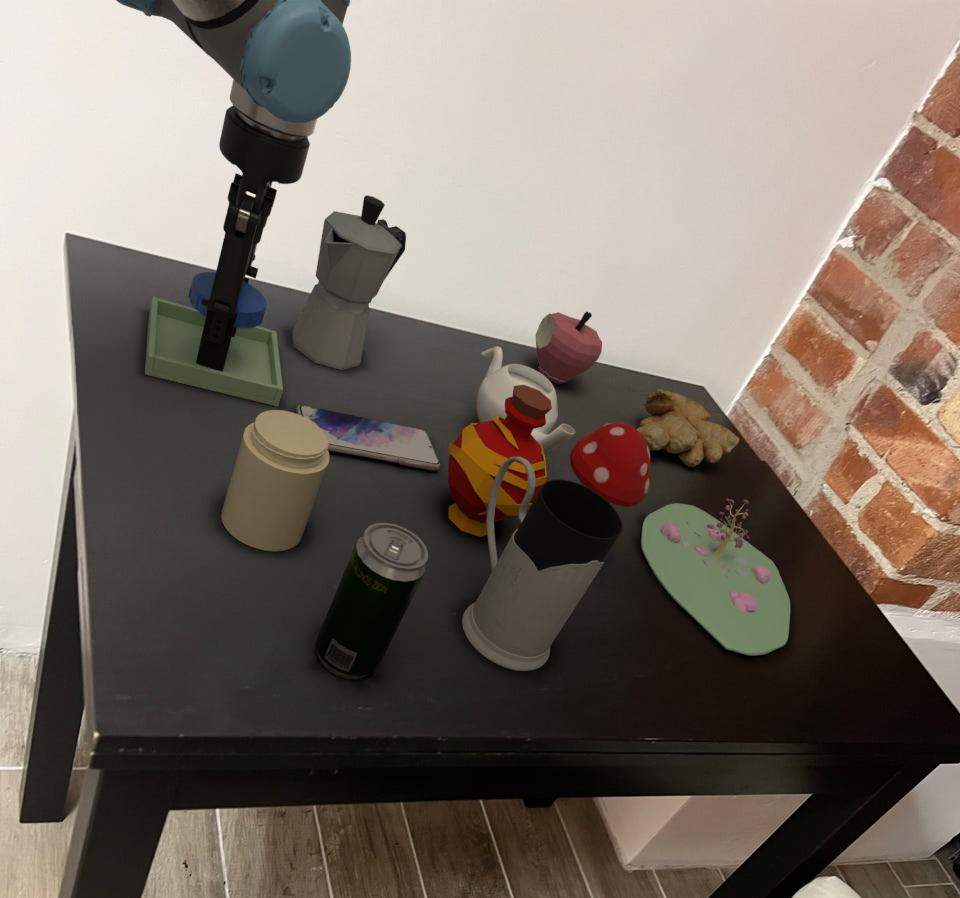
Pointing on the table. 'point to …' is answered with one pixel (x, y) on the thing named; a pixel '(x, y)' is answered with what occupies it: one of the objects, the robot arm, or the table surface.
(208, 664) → the table surface
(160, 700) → the table surface
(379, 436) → the smartphone
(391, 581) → the beer can
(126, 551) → the table surface
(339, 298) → the coffee maker
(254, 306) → the lid
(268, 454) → the jar
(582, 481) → the decorative mushroom
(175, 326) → the tray
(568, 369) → the apple
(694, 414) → the ginger root
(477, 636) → the glass holder
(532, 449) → the potion bottle
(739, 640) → the plant
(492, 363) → the teapot
